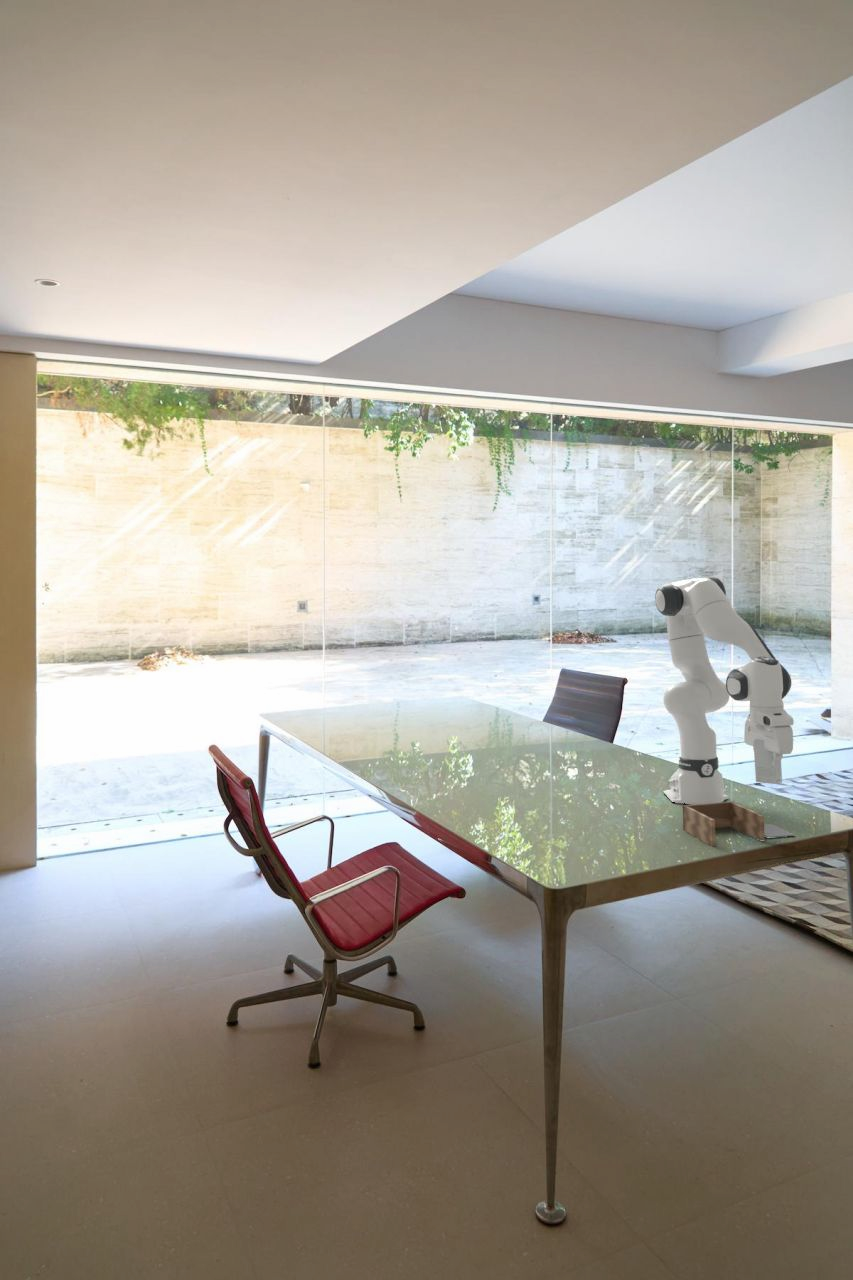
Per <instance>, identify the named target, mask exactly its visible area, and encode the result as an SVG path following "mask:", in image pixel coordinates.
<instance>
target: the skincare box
mask: <svg viewBox="0 0 853 1280" xmlns="http://www.w3.org/2000/svg"><path fill="white" fill-rule="evenodd" d="M753 742H754V750H753V754H754V770H755V775H754V776H755V782H756V783H762V784H763V783H764V784H774V785H779V784H780V783H782V782H783V775H782V761H781V762H780V768H779V769H775V768H772V763H771V762H772V761H773V759H774V756H773V752H770V751H767V750H765V749H764V740H761V739H755V740H753Z"/></svg>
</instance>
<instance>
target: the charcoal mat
mask: <svg viewBox="0 0 853 1280" xmlns="http://www.w3.org/2000/svg"><path fill="white" fill-rule="evenodd" d="M764 835H765V836H766V837H785V836H794V835H795V836H796V834H794V833H792V832H790V831H788V830H786V829H783V828H781V827H779V826H777V825H774V824H764ZM785 838H786V837H785Z"/></svg>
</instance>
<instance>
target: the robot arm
mask: <svg viewBox="0 0 853 1280" xmlns="http://www.w3.org/2000/svg"><path fill="white" fill-rule="evenodd" d="M726 593H727V592H726V587H725V585H724V583H723V581H722V580H721V579H719V578H718V577H713V576H706V577H693V578H687V579H683V580H678V581H674V582H667V583H664V584H661V585H659V586H658V588H657V590H656V591H655V596H654V599H655V600H654V601H655V606H656V608H657V612H658V611H659V613H660V614H661V615H662V616H666V629H667V639H668V644H669V648H670V656H671V660H672V664H673V665H674V667H675V668H676V669H678V670H679V672H681V674H682V676H683V678H684V680H685V681H682V682H678V683H675V684H673V685H671V686H670V687H668V688H667V689H666V691H665V692H664V695H663V704H664V707H665V709H666V711H667V712H668V713H669V714H670V715H672V717H673V718H674V720H675V723H676V726H677V729H678V734H679V739H680V741H679V742H680V743H679V744H680V756H679V757H678V758H679V759H678V769H677V770H676V771H675V772H674V773H673V774H672V775H671V776H670V779H668V781H667V784H668V787H670V788H669V789H666V790H663V792H664V793H665V794H666V795H667V797H668V798H669V799H670V800H671V801H672V802H675V803H674V804H684V803H685V804H684V805H695V804H708V803H720V802H725V800H728V799H729V797H728V795H727V794H725V790H724V789H725V787H724V781H723V780H724V779H723V774H722V773H721V772H720V771H719V764H720V763H719V758H718V755H717V735H716V732H715V731H714V729H713V728H712V727H710V726H709V724H708V720H707V717H706V716H707V715H706V714H708V713H714V712H716V711H719V710H721V709H722V708H723V707H725V706H726V705H727V704H728V703H729V699H730V698H732V699H733V700H734V701H738V702H749V714H748V715H747V719H746V720H745V723H744V735H743V737H744V739H743V741H744V742H745V744H746V745H749V746H752V747H753V748H752V750H753V751H754V742H753V740H755V739H761V740H764V749H765V750H767V751H770V752H773V756H774V759H773V761H772V762H771V763H772V768H775V769H779V768H780V762H781V763H782V759H783V756H784V755H791V754H792V752H793V749H794V731H793V727H792V726H794V721H795V720H794V718H793V716H791V715H790V714H789V712H787V710H785V709H784V701H783V699H784V698H785V697H786V696H788V693H789V692H790V690H791V687H792V677H791V675H790V673H789V671H788V670H787V669H786V668H785V667H784V666H783V665H782V664H781V662H780V661H779V660H778V659H777V658H776V657H775V655H774V654H773V653H772V651H771V650H770V649H769V647H768V645H767V643H766V642H765V641H764V640H763V638H762V637H761V635H760V634H759V633H758V631H757V630H756V629H755V627H753V626H752V624H750V623H749V622H747V621H746V620H744V619H743V618H742V617H741V616H740V615H739V614H738V613H737V612H736V611H735V610H734V608H733V606H732V605H731V603H730V601H729V599H728V598H727V595H726ZM705 637H706V638H709V640H710V639H711V640H713V641H717V642H722V643H726V644H730V645H733V646H736V647H738V648H741V649H742V650H743V651H744V652H745V653H747V655H748V657H749V658H750V660H749V662H748V663H747V664H745V665H744V666H741V667H738V668H734V669H732V670H731V671H730V672H729V673H728V675H727V677H726V680H725V682H724V681H722V680H721V679H720V677H718V675H717V674H716V672H715V669H714V668H713V666H712V664H711V662H710V658H709V656H708V651H707V646H706V641H705ZM667 797H666V798H667ZM668 798H667V799H668ZM669 799H668V800H669ZM670 800H669V801H670ZM671 801H670V802H671ZM672 802H671V803H672Z"/></svg>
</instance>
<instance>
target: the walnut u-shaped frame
mask: <svg viewBox="0 0 853 1280" xmlns="http://www.w3.org/2000/svg"><path fill="white" fill-rule="evenodd" d="M682 821H683V823H682V824H683V825H682V827H683V831H685V832H686V833H688V834H690V835H692V836H694V838H695V837H696V838H697V839H699V840H700V841H702V842H704V843H706V844H707V845H710V846H712V847H716V841H717V840H716V829H720V828H729V827H730V828H733V829H735V830H737V831H739V832H741V833H743V832H744V833H743V834H745V833H746V834H745V835H747V834H748V835H747V836H749V835H751V836H753V837H755V838H757V839H759V840H766V838H765V835H764V825H765V816H764V814H761V813H760V812H759V813H758V812H756V811H754V810H752V809H750V808H748V807H745V806H743V805H741V804H738V803H736V802H734V801H723V802H720V803H708V804H695V805H692V804H684V805H682ZM751 836H750V837H751ZM753 837H752V838H753ZM755 838H754V839H755ZM757 839H756V840H757ZM759 840H758V841H759Z"/></svg>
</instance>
